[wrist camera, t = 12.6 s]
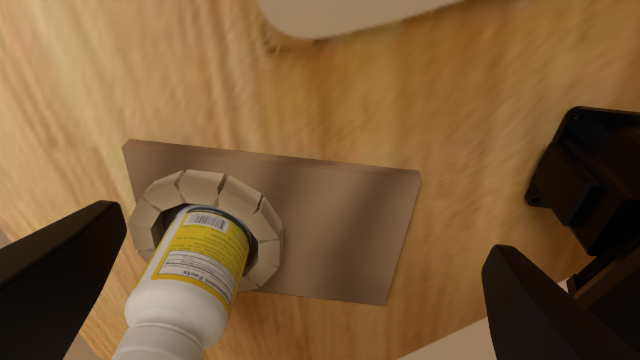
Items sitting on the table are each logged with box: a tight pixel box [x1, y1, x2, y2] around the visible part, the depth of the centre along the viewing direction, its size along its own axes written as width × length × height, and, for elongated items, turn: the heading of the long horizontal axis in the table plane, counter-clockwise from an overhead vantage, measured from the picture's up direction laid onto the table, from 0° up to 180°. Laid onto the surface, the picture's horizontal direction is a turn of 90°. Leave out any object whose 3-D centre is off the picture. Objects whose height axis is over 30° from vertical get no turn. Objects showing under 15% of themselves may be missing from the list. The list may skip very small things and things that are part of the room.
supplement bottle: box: [112, 204, 251, 360], centre depth 22 cm, size 5×5×10 cm
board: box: [122, 139, 421, 306], centre depth 26 cm, size 18×12×2 cm, turn 85°
